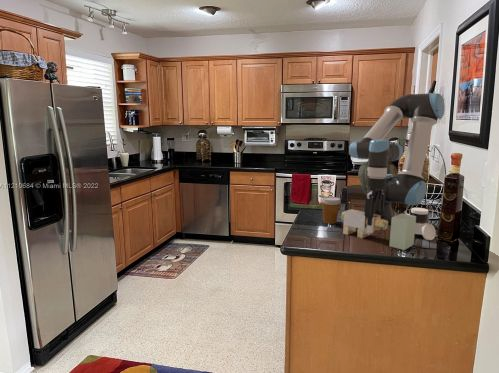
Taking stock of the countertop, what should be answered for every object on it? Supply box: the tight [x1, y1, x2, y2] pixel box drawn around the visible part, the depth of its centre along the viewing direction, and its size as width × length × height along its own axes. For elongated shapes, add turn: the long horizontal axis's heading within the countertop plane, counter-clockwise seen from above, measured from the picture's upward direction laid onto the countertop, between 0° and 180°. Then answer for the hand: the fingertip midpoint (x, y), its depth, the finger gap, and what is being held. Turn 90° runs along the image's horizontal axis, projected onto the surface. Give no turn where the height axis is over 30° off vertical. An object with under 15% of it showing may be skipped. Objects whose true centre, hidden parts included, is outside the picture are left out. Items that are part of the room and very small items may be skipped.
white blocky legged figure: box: [342, 208, 371, 239], centre depth 159 cm, size 7×10×10 cm
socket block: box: [388, 212, 416, 251], centre depth 145 cm, size 9×6×12 cm, turn 135°
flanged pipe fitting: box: [409, 207, 437, 241], centre depth 157 cm, size 12×11×12 cm
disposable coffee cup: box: [320, 196, 342, 225], centre depth 178 cm, size 10×10×12 cm
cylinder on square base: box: [340, 211, 389, 232], centre depth 157 cm, size 5×20×6 cm, turn 45°
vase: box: [357, 159, 398, 195], centre depth 218 cm, size 22×22×30 cm
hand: (372, 230), depth 154 cm, fingers closed on cylinder on square base, 5 cm apart
